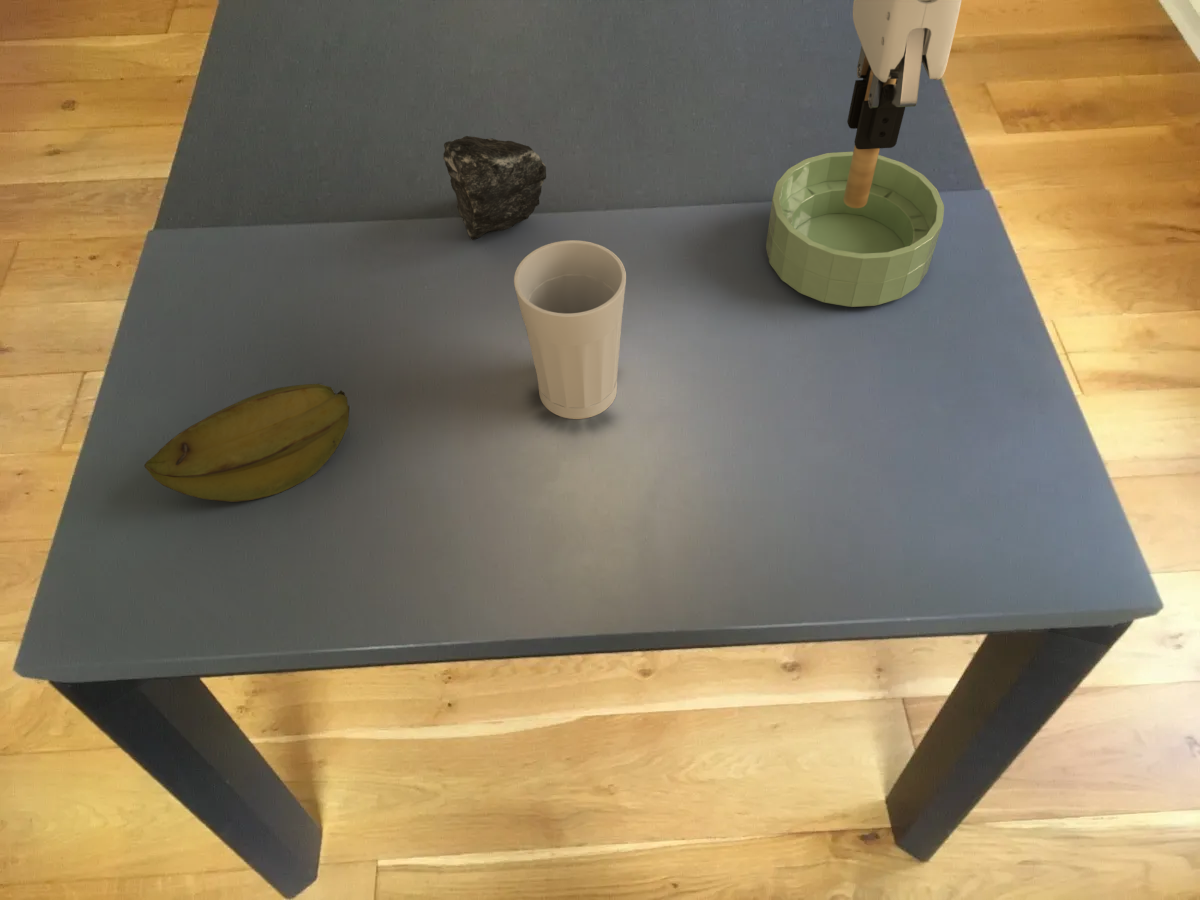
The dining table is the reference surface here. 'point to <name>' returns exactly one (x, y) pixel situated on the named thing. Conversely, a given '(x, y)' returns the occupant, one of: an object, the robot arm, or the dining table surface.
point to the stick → (862, 168)
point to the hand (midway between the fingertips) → (870, 134)
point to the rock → (493, 182)
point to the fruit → (255, 445)
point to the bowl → (853, 231)
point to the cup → (573, 324)
